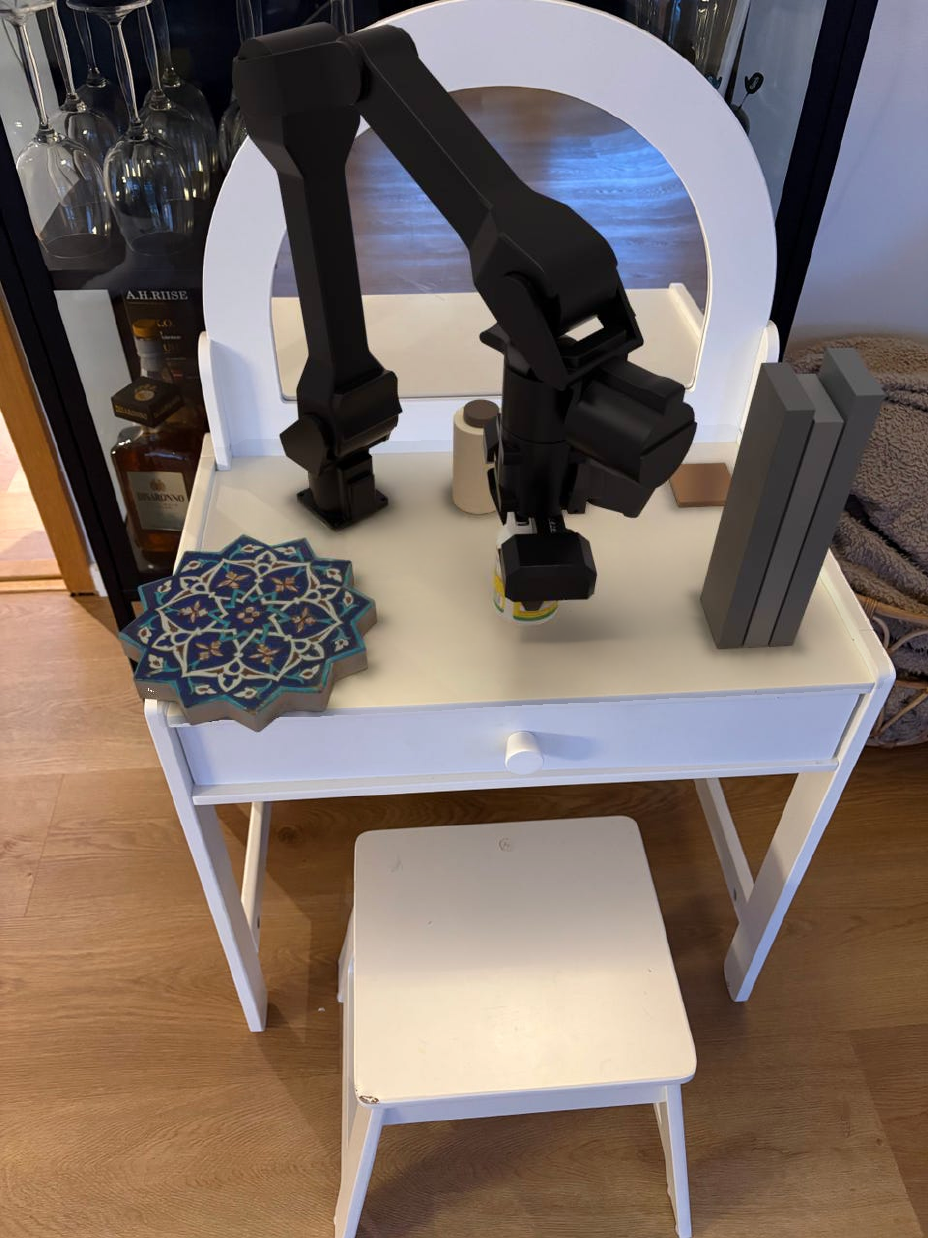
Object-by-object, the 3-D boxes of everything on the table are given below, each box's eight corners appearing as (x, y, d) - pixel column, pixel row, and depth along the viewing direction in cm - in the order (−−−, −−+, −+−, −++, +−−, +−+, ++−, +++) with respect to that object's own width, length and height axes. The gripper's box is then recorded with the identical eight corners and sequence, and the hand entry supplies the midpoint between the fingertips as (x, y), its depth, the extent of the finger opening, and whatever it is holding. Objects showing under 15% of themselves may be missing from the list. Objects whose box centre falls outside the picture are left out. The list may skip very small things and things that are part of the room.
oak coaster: (678, 506, 94) (679, 502, 93) (665, 469, 98) (666, 464, 98) (740, 504, 94) (741, 499, 94) (724, 467, 98) (725, 462, 98)
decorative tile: (103, 596, 84) (96, 576, 82) (322, 529, 90) (319, 509, 88) (165, 769, 71) (158, 750, 70) (413, 677, 78) (412, 657, 76)
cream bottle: (441, 495, 94) (441, 406, 87) (480, 475, 97) (483, 387, 90) (476, 521, 92) (479, 431, 85) (515, 499, 94) (521, 410, 87)
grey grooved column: (793, 645, 81) (886, 394, 64) (717, 648, 81) (790, 397, 64) (771, 595, 85) (854, 347, 68) (699, 598, 85) (764, 349, 68)
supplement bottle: (479, 609, 79) (483, 516, 73) (516, 574, 82) (523, 481, 76) (535, 638, 77) (544, 544, 70) (571, 600, 80) (583, 507, 73)
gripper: (689, 501, 61) (651, 668, 72) (632, 346, 74) (607, 507, 85) (511, 507, 60) (500, 674, 71) (485, 349, 73) (479, 511, 85)
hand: (527, 584), depth 78 cm, fingers closed on supplement bottle, 5 cm apart
